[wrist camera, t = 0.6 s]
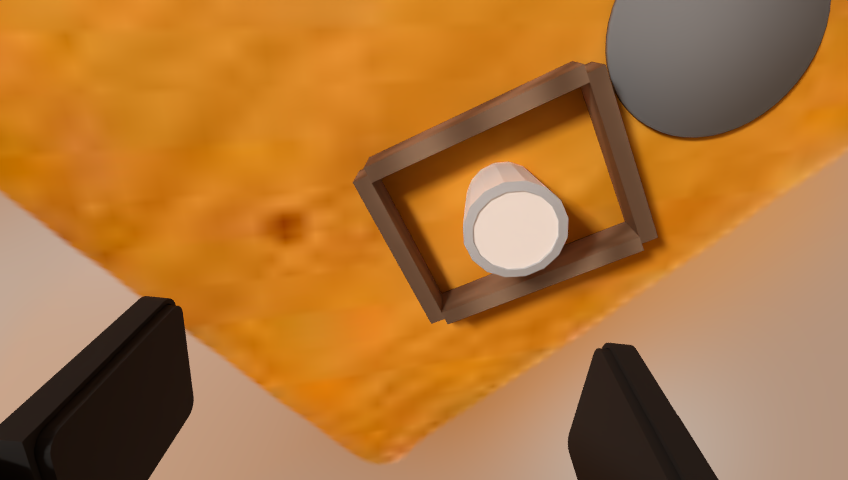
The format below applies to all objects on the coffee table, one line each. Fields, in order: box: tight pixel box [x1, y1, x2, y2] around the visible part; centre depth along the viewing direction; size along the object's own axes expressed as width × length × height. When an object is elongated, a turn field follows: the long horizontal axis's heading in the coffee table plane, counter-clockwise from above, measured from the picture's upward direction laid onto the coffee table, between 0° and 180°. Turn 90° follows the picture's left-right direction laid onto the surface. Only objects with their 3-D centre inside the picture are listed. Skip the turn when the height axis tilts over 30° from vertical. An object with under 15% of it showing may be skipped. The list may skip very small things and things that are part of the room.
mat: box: [606, 0, 831, 137], centre depth 31 cm, size 14×14×1 cm
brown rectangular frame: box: [353, 61, 658, 324], centre depth 35 cm, size 18×14×3 cm
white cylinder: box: [463, 162, 568, 277], centre depth 34 cm, size 7×7×7 cm
